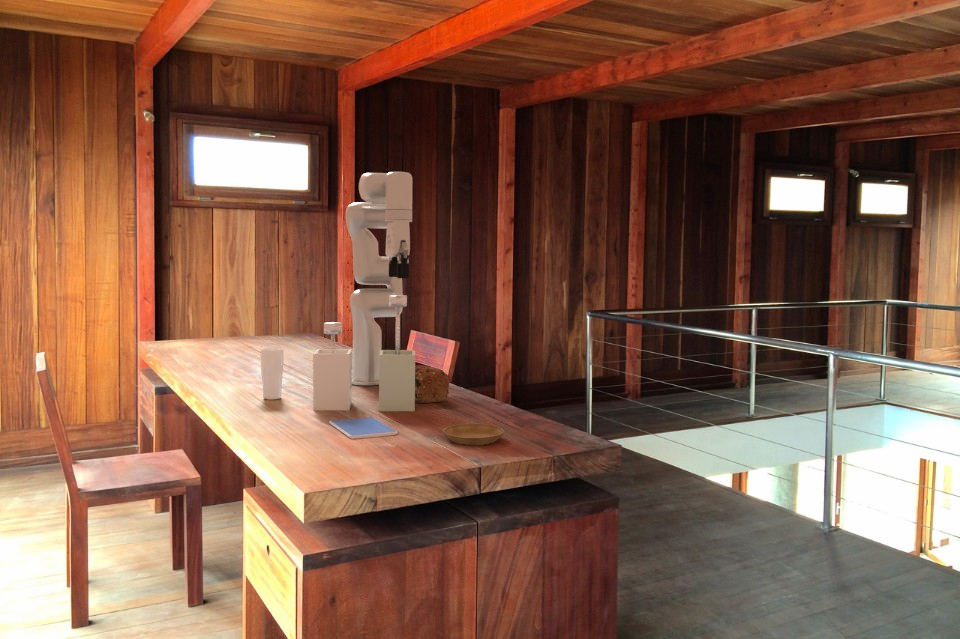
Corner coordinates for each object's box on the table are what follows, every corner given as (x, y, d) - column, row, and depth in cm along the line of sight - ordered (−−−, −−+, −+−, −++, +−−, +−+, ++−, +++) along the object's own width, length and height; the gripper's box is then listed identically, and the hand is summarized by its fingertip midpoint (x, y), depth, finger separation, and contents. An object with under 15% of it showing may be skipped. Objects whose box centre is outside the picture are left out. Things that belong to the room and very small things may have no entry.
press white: (317, 403, 237) (317, 349, 236) (351, 403, 238) (351, 349, 236) (313, 410, 227) (313, 353, 226) (349, 410, 228) (349, 354, 227)
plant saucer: (456, 450, 188) (456, 439, 188) (434, 436, 201) (434, 425, 201) (513, 445, 194) (514, 434, 193) (488, 431, 207) (488, 421, 207)
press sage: (380, 404, 237) (380, 350, 236) (414, 404, 238) (414, 350, 237) (379, 411, 227) (379, 354, 226) (414, 411, 228) (415, 355, 227)
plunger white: (320, 391, 236) (320, 321, 234) (347, 391, 236) (347, 321, 234) (318, 396, 228) (317, 324, 226) (345, 396, 229) (345, 324, 227)
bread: (449, 402, 243) (450, 369, 242) (417, 404, 238) (417, 371, 237) (424, 391, 259) (424, 360, 258) (393, 393, 254) (393, 362, 253)
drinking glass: (277, 401, 239) (277, 350, 237) (256, 399, 240) (256, 349, 239) (287, 396, 246) (287, 347, 244) (267, 395, 247) (266, 347, 245)
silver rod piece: (384, 365, 235) (384, 294, 233) (410, 365, 236) (411, 294, 234) (383, 369, 228) (384, 296, 226) (410, 369, 228) (411, 296, 226)
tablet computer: (327, 424, 213) (327, 419, 213) (373, 420, 218) (373, 415, 218) (350, 441, 196) (350, 436, 195) (399, 436, 201) (399, 431, 201)
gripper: (378, 217, 234) (378, 276, 236) (393, 215, 218) (392, 278, 219) (403, 218, 237) (403, 276, 238) (420, 216, 221) (419, 278, 222)
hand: (398, 277), depth 229 cm, fingers open, 9 cm apart
